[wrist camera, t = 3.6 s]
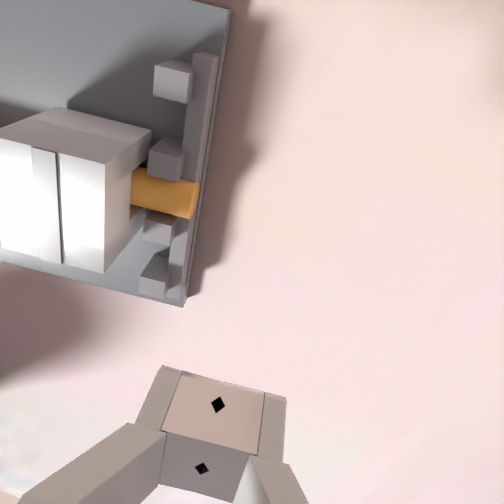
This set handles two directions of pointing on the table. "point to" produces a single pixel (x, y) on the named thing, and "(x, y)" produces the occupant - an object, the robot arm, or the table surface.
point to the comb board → (126, 113)
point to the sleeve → (70, 187)
